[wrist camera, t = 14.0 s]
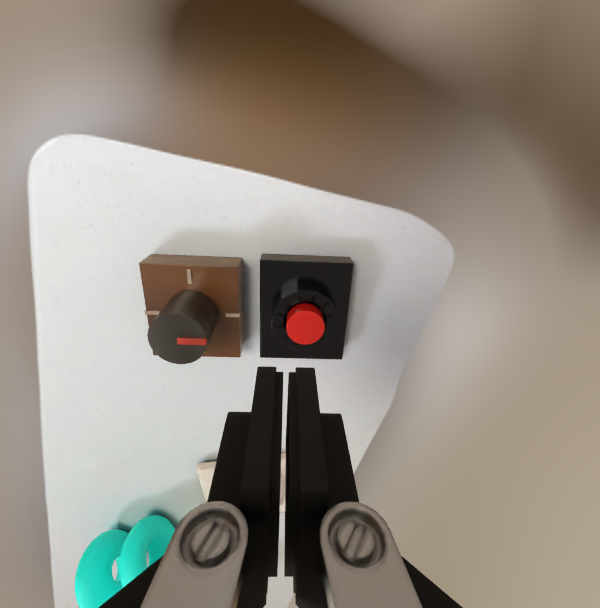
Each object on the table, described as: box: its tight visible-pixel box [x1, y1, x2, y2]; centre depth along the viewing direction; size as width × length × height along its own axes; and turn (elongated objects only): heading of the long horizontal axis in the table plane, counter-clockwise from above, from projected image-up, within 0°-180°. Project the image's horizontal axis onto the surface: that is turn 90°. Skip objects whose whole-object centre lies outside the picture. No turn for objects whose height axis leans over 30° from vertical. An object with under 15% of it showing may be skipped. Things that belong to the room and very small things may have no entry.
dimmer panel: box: [139, 254, 244, 357], centre depth 34 cm, size 10×9×3 cm
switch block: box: [260, 254, 354, 359], centre depth 35 cm, size 11×9×4 cm
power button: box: [286, 303, 325, 345], centre depth 32 cm, size 4×4×2 cm
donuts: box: [75, 515, 175, 608], centre depth 46 cm, size 10×10×10 cm
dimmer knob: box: [148, 291, 218, 364], centre depth 31 cm, size 5×5×5 cm
